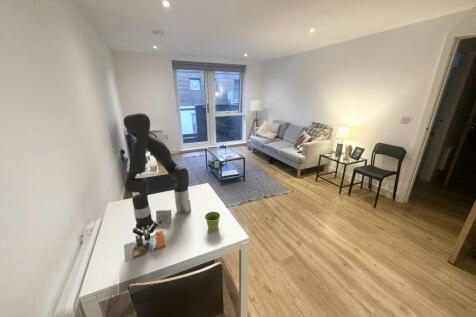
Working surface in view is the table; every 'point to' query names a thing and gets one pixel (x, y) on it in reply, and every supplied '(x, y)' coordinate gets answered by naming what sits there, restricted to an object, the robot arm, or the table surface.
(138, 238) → the breaker slider
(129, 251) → the panel
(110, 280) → the table surface
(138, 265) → the table surface
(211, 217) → the plant pot
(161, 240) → the cap
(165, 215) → the electrical switch
